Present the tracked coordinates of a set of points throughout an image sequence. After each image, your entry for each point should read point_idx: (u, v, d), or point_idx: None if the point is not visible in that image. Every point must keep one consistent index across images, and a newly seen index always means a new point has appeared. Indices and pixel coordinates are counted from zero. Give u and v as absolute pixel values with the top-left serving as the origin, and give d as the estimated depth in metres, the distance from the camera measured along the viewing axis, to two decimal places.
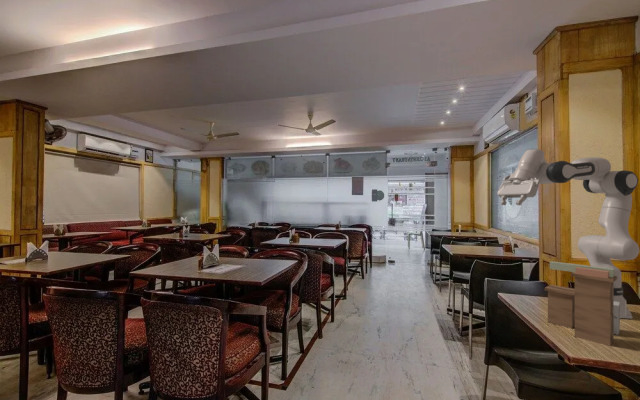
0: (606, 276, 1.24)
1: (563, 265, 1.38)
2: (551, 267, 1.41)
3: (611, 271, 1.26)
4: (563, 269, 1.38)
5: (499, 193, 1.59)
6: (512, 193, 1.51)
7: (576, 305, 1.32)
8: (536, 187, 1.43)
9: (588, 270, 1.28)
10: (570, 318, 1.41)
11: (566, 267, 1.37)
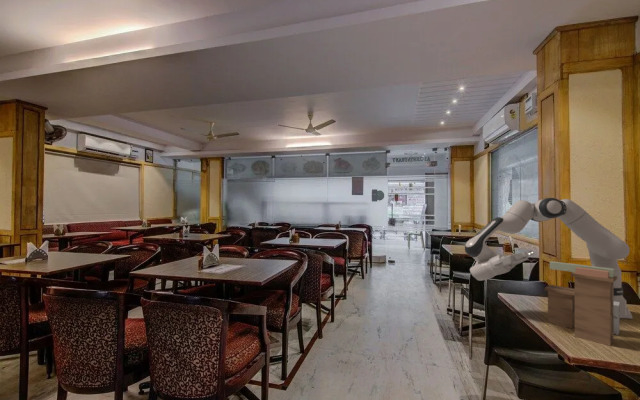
0: (606, 276, 1.24)
1: (563, 265, 1.38)
2: (551, 267, 1.41)
3: (611, 271, 1.26)
4: (563, 269, 1.38)
5: (526, 259, 1.57)
6: (520, 260, 1.52)
7: (576, 305, 1.32)
8: (502, 261, 1.49)
9: (588, 270, 1.28)
10: (570, 318, 1.41)
11: (566, 267, 1.37)
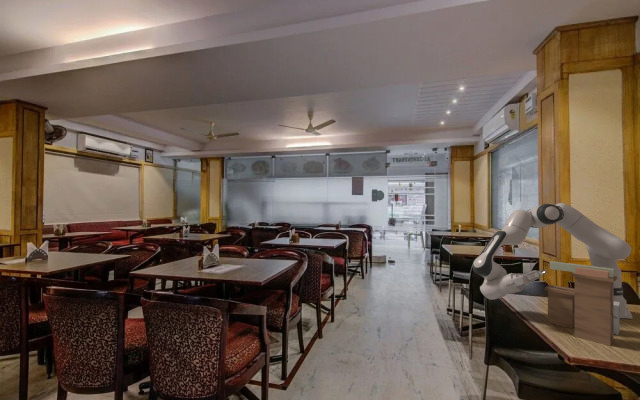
0: (606, 276, 1.24)
1: (563, 265, 1.38)
2: (551, 267, 1.41)
3: (611, 271, 1.26)
4: (563, 269, 1.38)
5: (538, 277, 1.53)
6: (533, 280, 1.48)
7: (576, 305, 1.32)
8: (514, 281, 1.45)
9: (588, 270, 1.28)
10: (570, 318, 1.41)
11: (566, 267, 1.37)
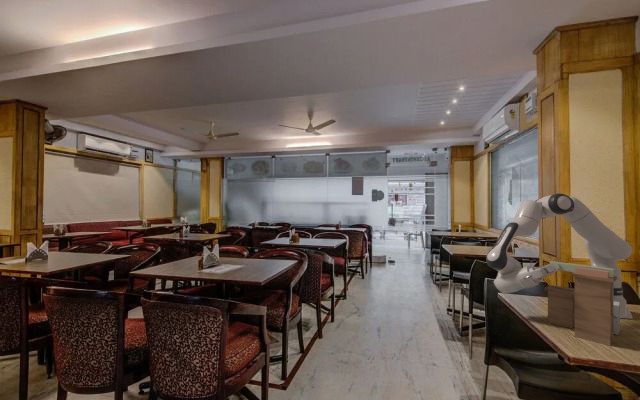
0: (606, 276, 1.24)
1: (563, 265, 1.38)
2: None
3: (611, 271, 1.26)
4: (563, 269, 1.38)
5: None
6: (550, 273, 1.42)
7: (576, 305, 1.32)
8: (531, 274, 1.40)
9: (588, 270, 1.28)
10: (570, 318, 1.41)
11: (566, 267, 1.37)
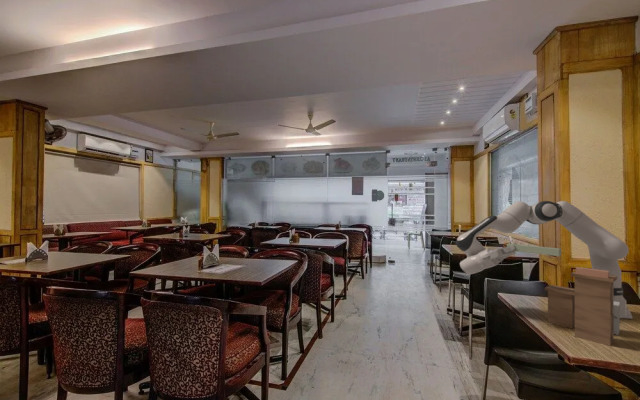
0: (606, 276, 1.24)
1: (518, 246, 1.52)
2: None
3: (557, 250, 1.40)
4: (518, 250, 1.51)
5: None
6: (507, 254, 1.56)
7: (576, 305, 1.32)
8: (489, 254, 1.54)
9: (588, 270, 1.28)
10: (570, 318, 1.41)
11: (520, 248, 1.51)
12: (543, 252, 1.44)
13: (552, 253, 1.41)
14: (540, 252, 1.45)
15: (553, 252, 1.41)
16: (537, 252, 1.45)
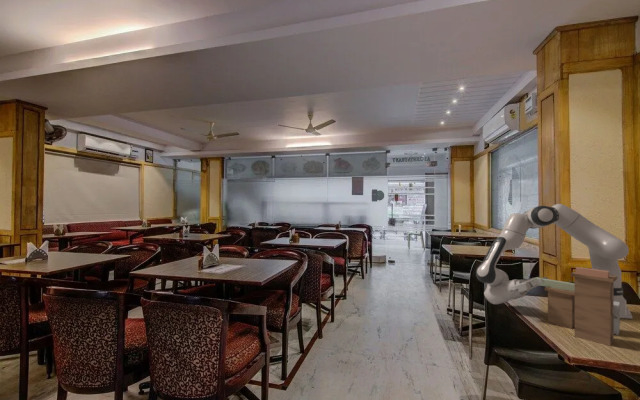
0: (606, 276, 1.24)
1: (546, 281, 1.50)
2: None
3: None
4: (546, 285, 1.50)
5: None
6: (535, 286, 1.54)
7: (576, 305, 1.32)
8: (517, 287, 1.52)
9: (588, 270, 1.28)
10: (570, 318, 1.41)
11: (548, 283, 1.49)
12: (573, 289, 1.42)
13: None
14: (570, 289, 1.43)
15: None
16: (567, 289, 1.44)
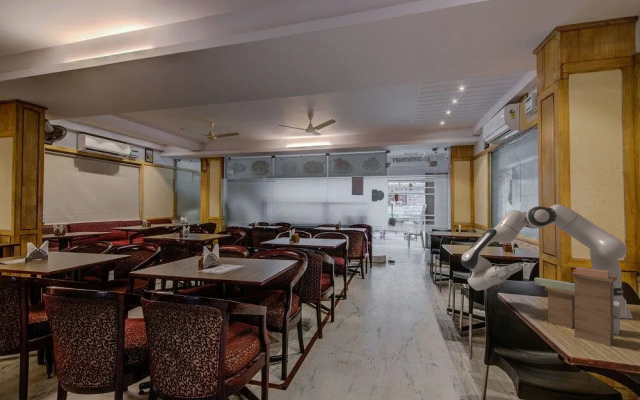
0: (606, 276, 1.24)
1: (546, 281, 1.50)
2: (535, 283, 1.53)
3: None
4: (546, 285, 1.50)
5: (520, 269, 1.67)
6: (514, 271, 1.62)
7: (576, 305, 1.32)
8: (497, 272, 1.59)
9: (588, 270, 1.28)
10: (570, 318, 1.41)
11: (548, 283, 1.49)
12: (573, 289, 1.42)
13: None
14: (570, 289, 1.43)
15: None
16: (567, 289, 1.44)
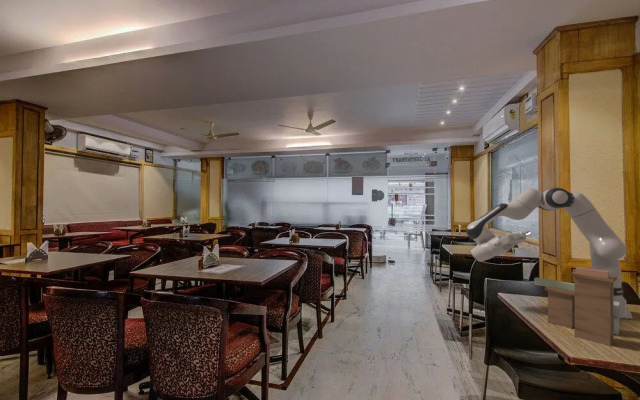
0: (606, 276, 1.24)
1: (546, 281, 1.50)
2: (535, 283, 1.53)
3: None
4: (546, 285, 1.50)
5: (524, 239, 1.66)
6: (518, 240, 1.61)
7: (576, 305, 1.32)
8: (501, 240, 1.58)
9: (588, 270, 1.28)
10: (570, 318, 1.41)
11: (548, 283, 1.49)
12: (573, 289, 1.42)
13: None
14: (570, 289, 1.43)
15: None
16: (567, 289, 1.44)
